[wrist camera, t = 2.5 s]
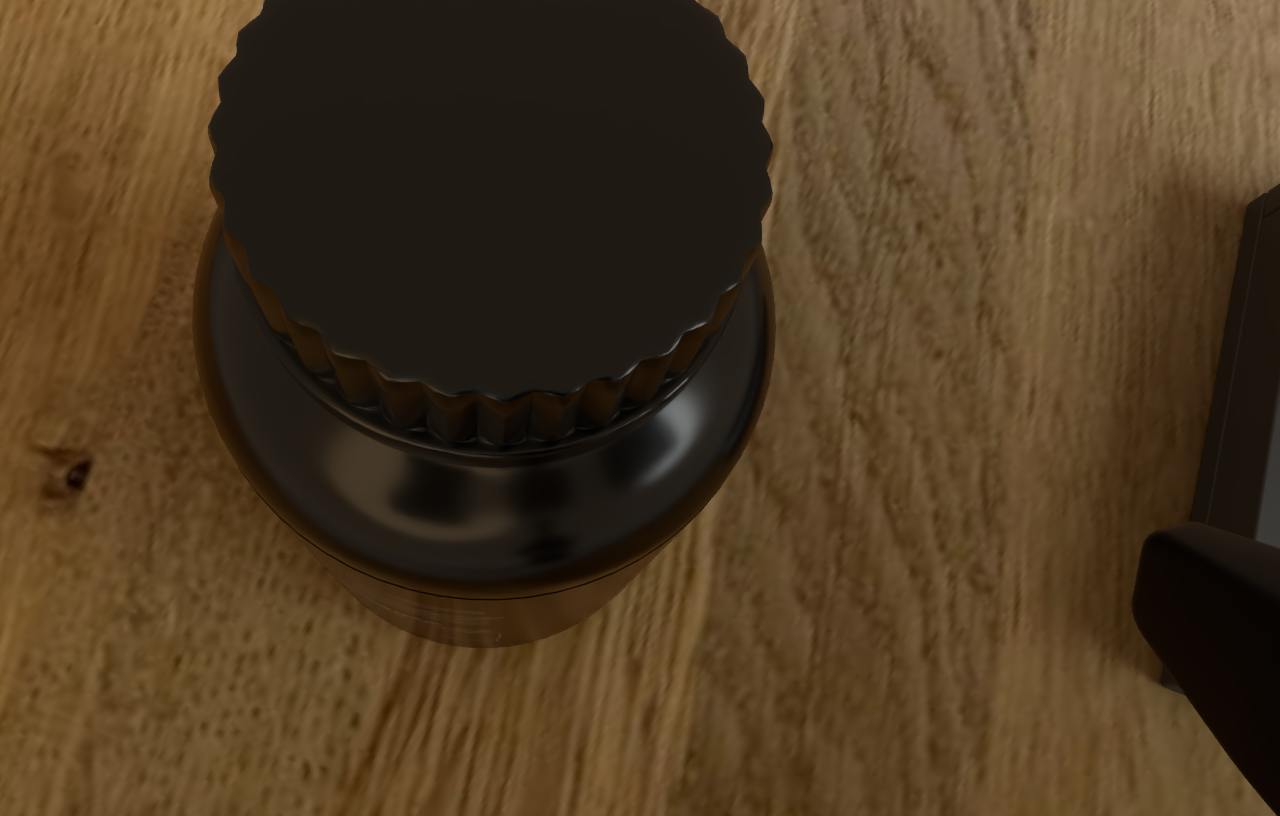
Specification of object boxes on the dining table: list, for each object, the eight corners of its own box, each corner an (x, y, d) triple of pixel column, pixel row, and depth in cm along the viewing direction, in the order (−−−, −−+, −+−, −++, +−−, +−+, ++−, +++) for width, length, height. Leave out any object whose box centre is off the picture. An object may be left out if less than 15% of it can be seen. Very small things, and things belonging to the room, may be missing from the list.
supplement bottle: (731, 523, 20) (1049, 285, 9) (425, 726, 19) (341, 747, 7) (545, 244, 22) (618, -284, 10) (237, 409, 20) (-97, -11, 8)
